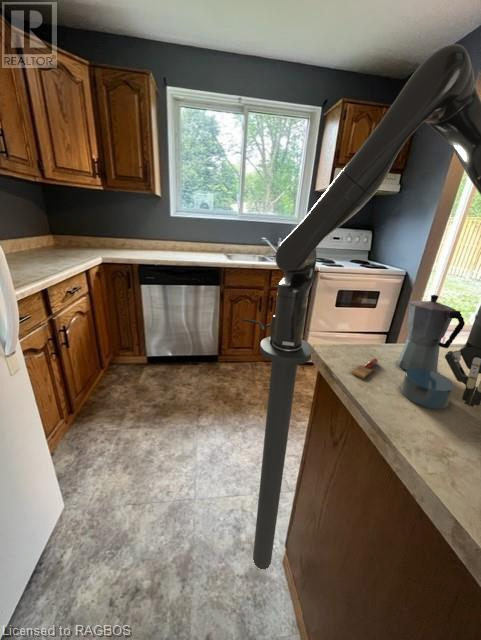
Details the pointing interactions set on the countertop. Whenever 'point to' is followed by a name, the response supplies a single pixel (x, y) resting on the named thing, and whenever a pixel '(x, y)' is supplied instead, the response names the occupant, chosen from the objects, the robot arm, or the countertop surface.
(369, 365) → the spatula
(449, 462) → the countertop surface
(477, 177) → the robot arm
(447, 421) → the countertop surface
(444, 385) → the pot
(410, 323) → the moka pot
